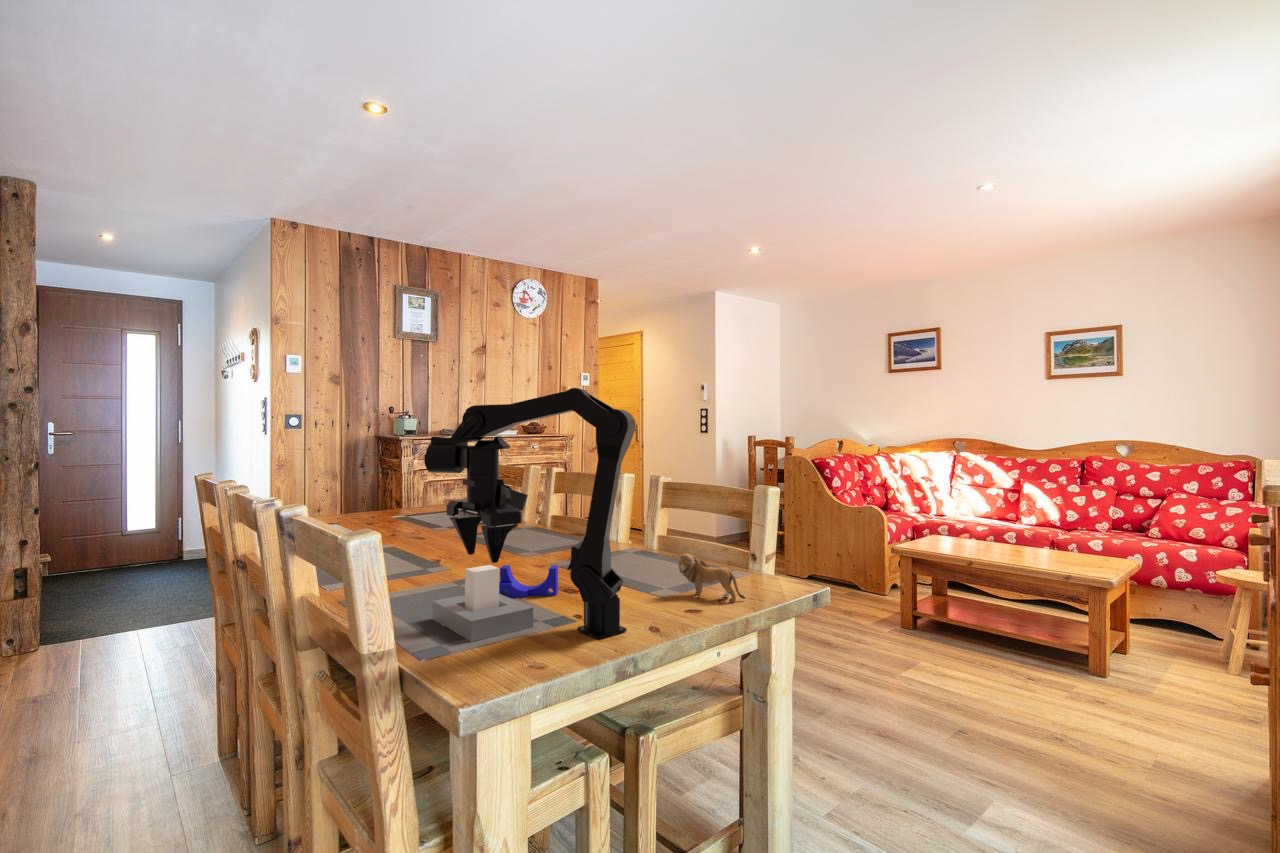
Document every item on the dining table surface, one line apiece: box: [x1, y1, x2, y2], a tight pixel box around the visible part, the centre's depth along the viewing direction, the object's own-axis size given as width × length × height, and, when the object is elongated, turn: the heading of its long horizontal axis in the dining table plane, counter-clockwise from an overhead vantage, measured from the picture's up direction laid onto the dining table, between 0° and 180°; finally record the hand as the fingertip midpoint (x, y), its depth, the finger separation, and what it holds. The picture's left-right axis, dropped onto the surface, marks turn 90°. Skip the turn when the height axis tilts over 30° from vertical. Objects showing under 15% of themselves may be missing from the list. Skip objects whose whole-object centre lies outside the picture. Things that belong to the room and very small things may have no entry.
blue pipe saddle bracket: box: [499, 564, 559, 599], centre depth 136 cm, size 12×4×6 cm, turn 89°
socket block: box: [432, 594, 534, 643], centre depth 117 cm, size 16×12×4 cm
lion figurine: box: [677, 553, 747, 604], centre depth 134 cm, size 15×5×9 cm, turn 70°
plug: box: [464, 564, 500, 612], centre depth 117 cm, size 4×5×9 cm
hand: (482, 558), depth 117 cm, fingers open, 9 cm apart
